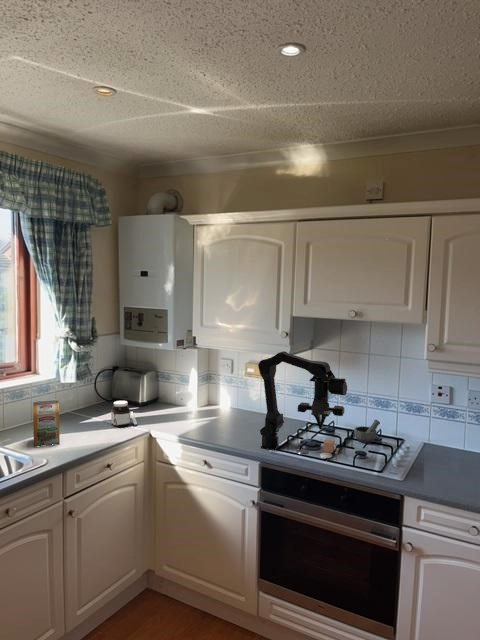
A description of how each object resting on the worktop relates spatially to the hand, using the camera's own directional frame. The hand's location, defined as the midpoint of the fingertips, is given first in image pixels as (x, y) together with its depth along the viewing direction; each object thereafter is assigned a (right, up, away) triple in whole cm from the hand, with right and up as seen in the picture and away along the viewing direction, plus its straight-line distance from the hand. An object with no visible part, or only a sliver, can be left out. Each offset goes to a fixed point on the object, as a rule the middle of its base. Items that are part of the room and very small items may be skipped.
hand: (320, 429), depth 204 cm
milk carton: (-121, -9, +15) cm, 122 cm away
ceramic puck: (+2, -12, 0) cm, 13 cm away
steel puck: (-7, -12, +3) cm, 14 cm away
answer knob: (+5, -10, +6) cm, 13 cm away
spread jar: (-92, -7, +42) cm, 101 cm away
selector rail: (0, -12, +8) cm, 14 cm away
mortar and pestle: (+24, -11, +18) cm, 32 cm away
